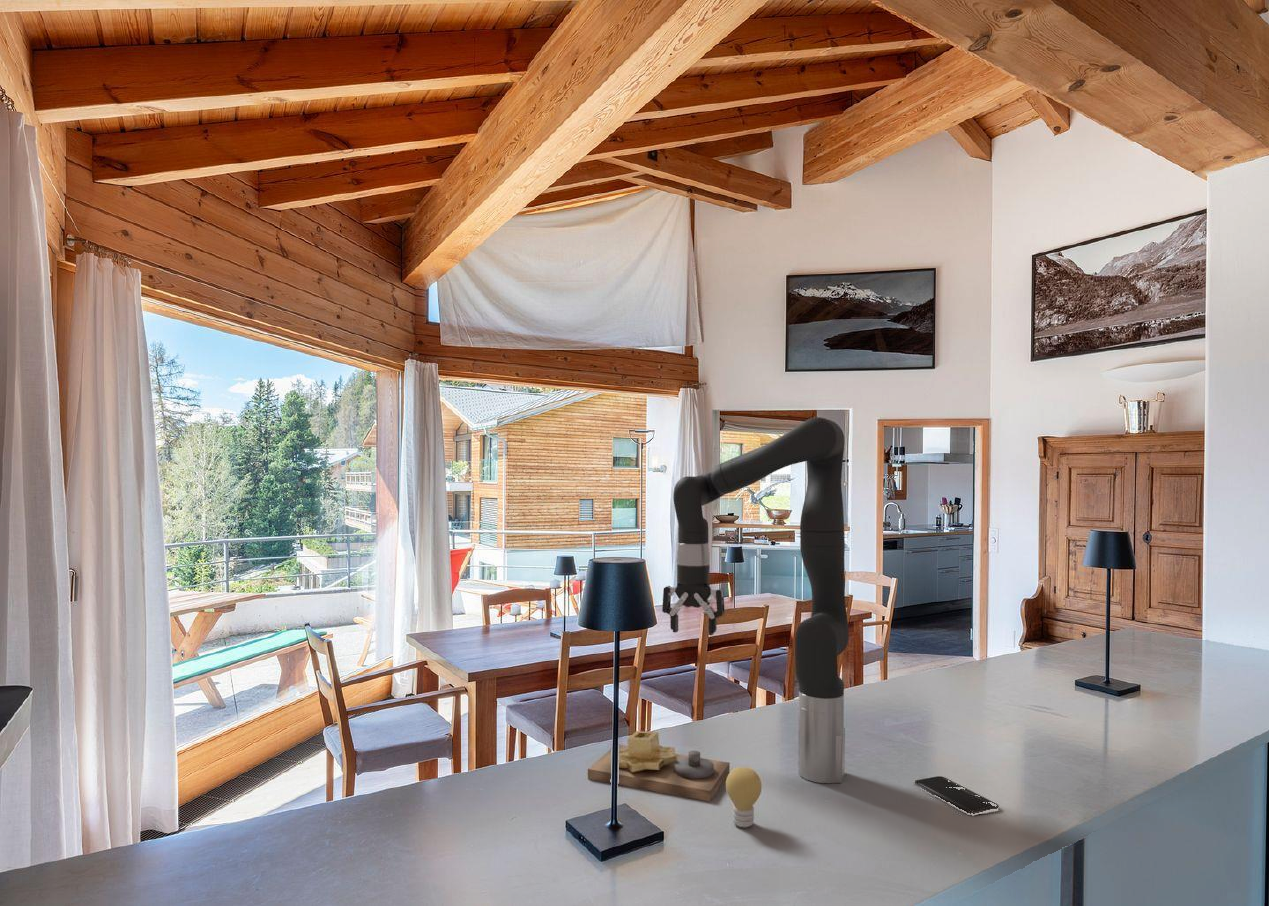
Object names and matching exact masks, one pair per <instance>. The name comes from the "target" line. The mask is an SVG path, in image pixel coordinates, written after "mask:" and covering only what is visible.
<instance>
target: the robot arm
mask: <svg viewBox="0 0 1269 906" xmlns="http://www.w3.org/2000/svg"><path fill="white" fill-rule="evenodd" d="M844 451H845V435H844V432H843V429H842V428H841V427H840V425H839V424H838V423H836V422H835V421H833V420H831V419H828V418H825V417H821V416H820V417H818V416H815V417H810V418H808V419H806V420H805V421H803V422H801V423H800V424H798V425H796V426H795V427H794V428H792V429H790V430H789V431H787V432H786V433H784V434H783V435H781V436H779V437H778V438H776V439H774V440H773V441H770V442H768V443H766V444H764V445H762V446H760V447H756V448H755V449H752V450H749V451H748V452H744V453H742V454H740V455H737V456H735V457H733V458H731V459H728V460H726V461H723V462H721V463H719V464H717V465H715V466H714V467H713V468H712V469H711V470H710V471H707V472H705V473H703V474H699V475H696V476H693V475H692V476H691V475H690V476H688V475H687V476H684V477H681V478H680V479H678V480H677V482H676V483H675V485H674V489H673V498H672V499H673V506H674V511H675V516H676V520H677V524H678V528H677V529H678V530H677V533H678V534H677V542H678V543H677V551H676V587H675V586H674V587H672V586H670V585H667V586H665V587H664V588H663V594H662V613H664V614H668V615H669V616H670V618H669V619H670V625H669V627H670V630H672V632H673V633H678V632H679V614H678V613H679V612H680V610H681V609H682V608H683V607H686V608H691V607H693V608H698V609H699V608H700V607H701V608H702V610H703V611H704V612H705V613H706V615H707V616H708V617H709V618H708V636H713V635H714V634H715V633H716V632H717V625H718V624H717V622H718V621H717V619H718V618H719V617H723V616H724V615H725V611H726V610H725V598H724V597H725V595H724V589H723V588H718V589H711V586H710V584H711V583H710V582H711V581H710V578H711V577H710V576H711V575H710V573H711V572H710V569H711V568H710V562H711V561H710V557H711V556H710V547H709V546H710V545H709V523H708V521H707V519H706V518H705V517H704V515H703V506H705V505H707V504H710V503H712V502H714V501H717V500H718V499H720V498H722V497H723V496H725V495H726V494H730V493H733V492H736V491H739V490H740V489H741V490H742V489H743V488H746V487H748V486H751V485H753V484H755V483H757V482H759V481H760V480H763V479H764V478H766V477H768V476H769V475H772V474H773V473H775V472H777V471H779V470H781V469H783V468H786V467H789V466H792V465H796V464H800V463H803V462H804V463H805V462H806V471H807V473H806V474H807V485H806V492H805V496H804V501H803V504H802V505H803V506H802V510H801V515H800V523H799V524H800V525H799V527H800V528H799V537H800V538H799V539H800V540H799V542H800V543H799V545H800V555H801V556H800V557H801V559H802V563H803V566H804V569H805V571H806V572H805V573H806V574H807V577H808V580H809V584H810V589H811V614H810V617H809V618H807V619H803V621H801V622H800V623H799V625H798V626H797V627H796V631H795V635H794V660H795V661H794V665H795V666H794V668H795V669H794V670H795V677H796V680H797V682H798V741H797V742H798V753H797V754H798V761H797V764H798V765H797V767H798V768H797V770H798V771H797V773H798V774H799V776H800V777H802V778H804V779H806V780H808V781H809V782H810V781H811V782H815V783H818V784H819V783H820V784H834V783H837V784H838V783H839V784H842V783H843V779H844V778H845V777H844V776H845V772H846V770H845V767H846V765H845V763H846V753H845V752H846V746H845V745H846V728H845V727H844V722H845V719H844V717H845V716H844V715H845V706H844V705H845V685H844V680H843V679H842V678H841V677H839V674H838V673H839V672H838V656H839V655H841V654H842V653H843V652H844V651H846V649H847V647H848V645H849V640H850V629H849V628H850V627H849V622H848V621H849V620H848V612H847V604H846V595H845V580H846V578H845V577H846V576H845V574H846V573H845V572H846V571H845V565H846V564H845V549H846V547H845V545H846V544H845V539H846V538H845V518H844V517H845V516H844V515H845V514H844V503H843V502H844V501H843V490H842V489H843V488H842V472H843V462H844ZM674 594H675V595H676V596H677V597H678V600H677V602H676V603H675V604H674V606H673V608H672V607H671V601H672V600H671V599H672V596H674ZM711 596H713V599H715V601H716V610H715V609H714V607H713V605H712V603H711V602H710V600H709V599H710V598H711Z"/></svg>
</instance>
